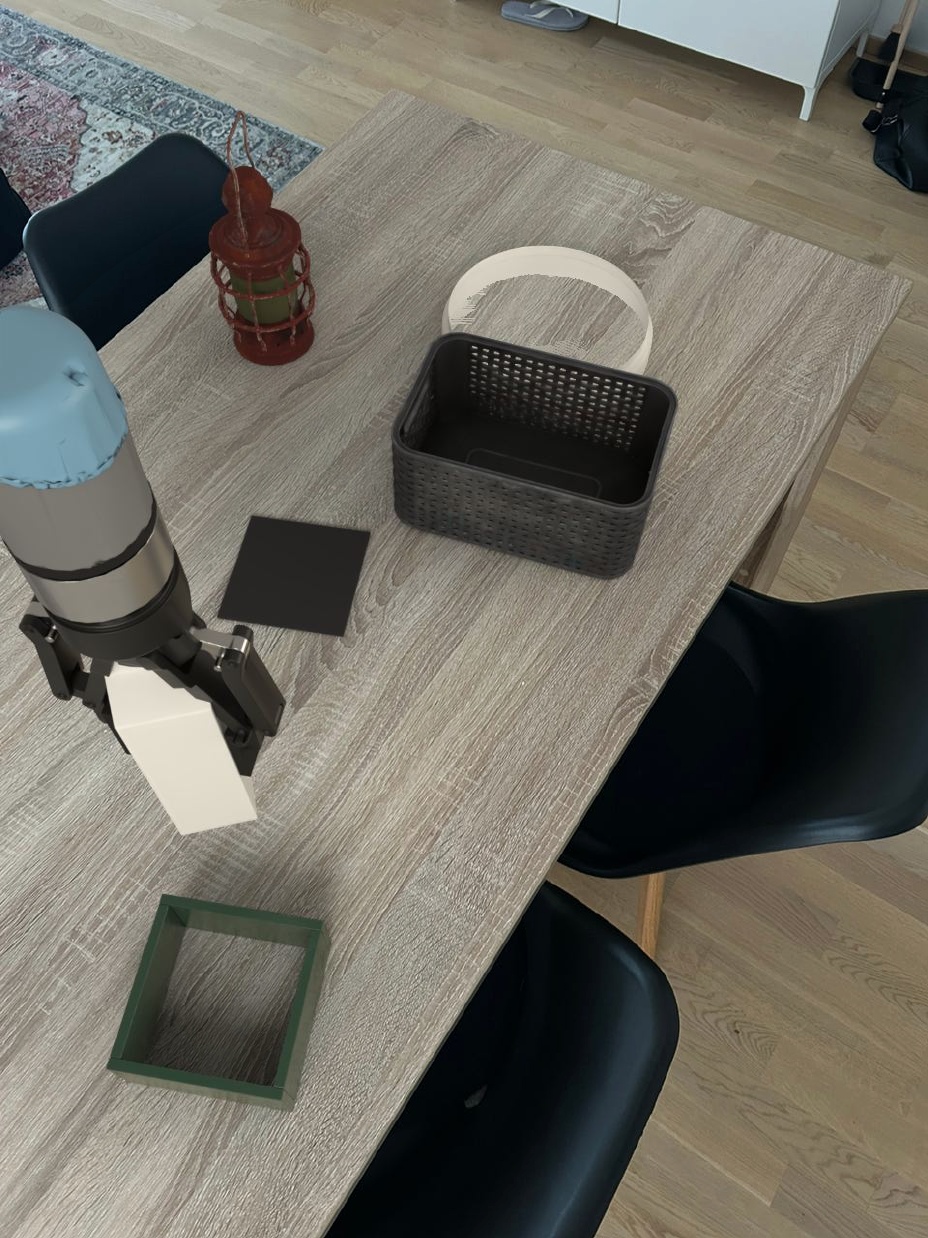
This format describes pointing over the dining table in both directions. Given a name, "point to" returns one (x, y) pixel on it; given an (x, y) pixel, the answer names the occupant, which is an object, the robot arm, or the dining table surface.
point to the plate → (552, 264)
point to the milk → (180, 751)
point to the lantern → (261, 268)
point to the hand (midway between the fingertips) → (194, 748)
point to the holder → (155, 982)
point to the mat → (295, 576)
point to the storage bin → (530, 454)
